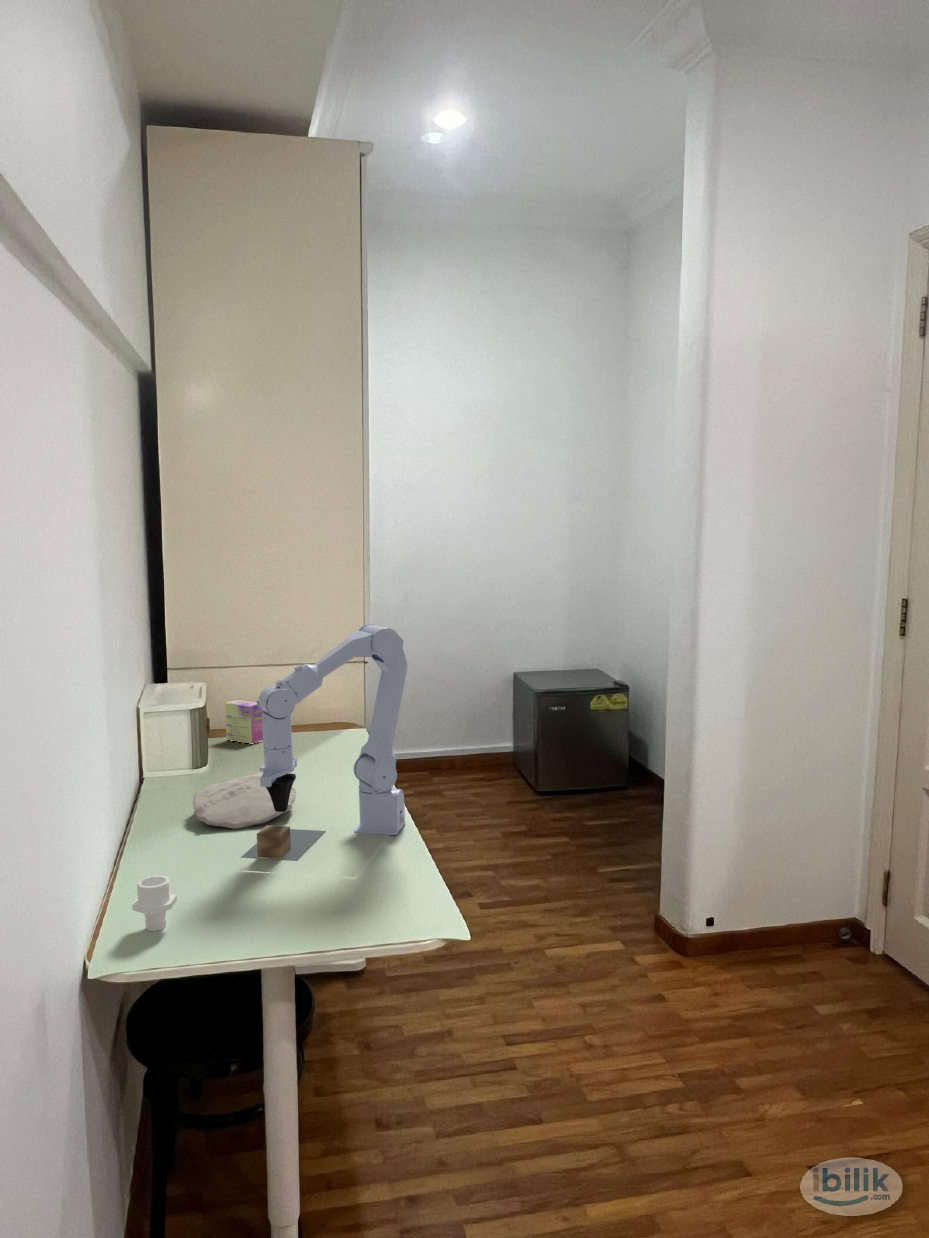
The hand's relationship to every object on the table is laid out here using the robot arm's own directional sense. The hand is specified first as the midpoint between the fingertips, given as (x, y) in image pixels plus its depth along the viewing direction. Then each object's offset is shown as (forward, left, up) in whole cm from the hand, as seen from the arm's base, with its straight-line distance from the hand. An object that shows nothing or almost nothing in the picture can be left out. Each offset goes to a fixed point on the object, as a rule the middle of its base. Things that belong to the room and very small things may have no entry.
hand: (281, 810), depth 192 cm
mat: (0, -2, -8) cm, 8 cm away
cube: (0, +4, -3) cm, 5 cm away
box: (+45, -82, -8) cm, 94 cm away
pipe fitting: (+7, +38, -8) cm, 39 cm away
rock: (+18, -22, -8) cm, 29 cm away
